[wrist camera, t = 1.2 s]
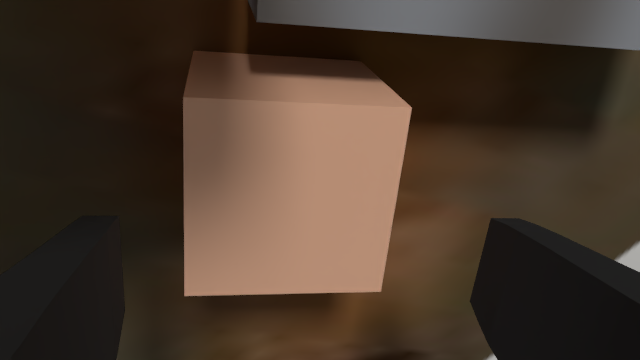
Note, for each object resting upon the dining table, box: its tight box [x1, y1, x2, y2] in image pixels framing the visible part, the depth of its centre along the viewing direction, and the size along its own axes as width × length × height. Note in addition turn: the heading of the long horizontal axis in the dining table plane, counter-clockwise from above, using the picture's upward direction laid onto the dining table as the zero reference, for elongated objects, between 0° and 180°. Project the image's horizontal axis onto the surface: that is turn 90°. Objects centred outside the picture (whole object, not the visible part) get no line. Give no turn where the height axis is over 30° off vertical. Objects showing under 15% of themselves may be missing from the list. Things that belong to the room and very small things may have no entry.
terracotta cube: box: [183, 51, 412, 296], centre depth 15 cm, size 5×5×5 cm
